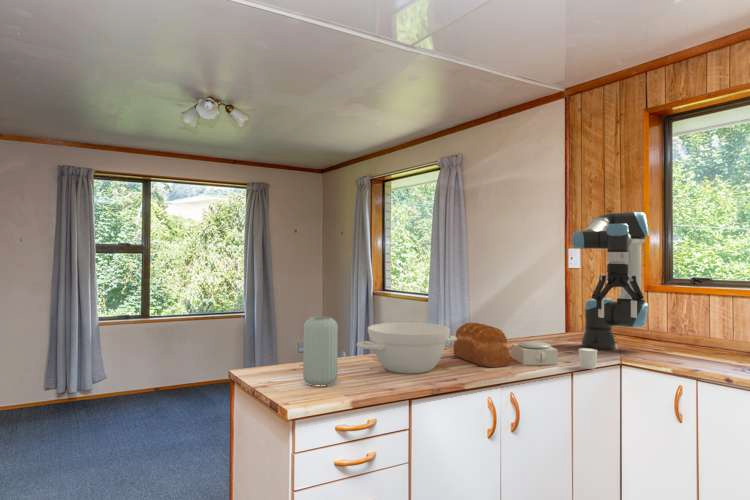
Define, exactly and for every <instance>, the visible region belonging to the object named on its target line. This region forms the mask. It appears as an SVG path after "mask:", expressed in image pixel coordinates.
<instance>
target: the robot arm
mask: <svg viewBox="0 0 750 500" xmlns="http://www.w3.org/2000/svg"><path fill="white" fill-rule="evenodd" d="M649 235H650V234H649V226H648V219H647V215H646V214H645V213H644V212H641V211H640V212H639V211H638V212H637V211H632V212H631V211H629V212H628V211H627V212H609V213H604V214H602V215H599V216H596V217H594V218H593V219H592V220H590V221H589V223H588V226H587V227H585V229H584V230H576V231H574V232H573V233H572V240H571V241H572V247H573V248H574V249H580V250H587V249H589V250H590V249H592V250H593V249H594V250H595V249H597V250H599V249H602V250H604V249H605V250H606V249H607V251H606V262H607V264H606V273H607V275H601V274H600V275H599V277H598V281H597V284H596V286H595V289H594V291H593V293H592V295H591V299H588V300H586V302H585V309H584V312H585V314H584V315H585V318H584V319H585V322H584V323H585V328H584V329H585V330H584V333H583V336H582V338H581V346H582V348H591V349H596V350H615V349H616V348H617V343H616V340H615V337H614V334H613V329H612V327H622V328H632V329H635V328H637V329H639V328H641V329H642V328H644V327H645V326H646V323H647V319H648V318H647V317H648V312H649V304H648V303H647V302H646V301H645V297H644V294H643V292H642V244H643V243H644V242H645V241H646V238H648V237H649ZM606 281H607V283H606ZM603 287H604V288H603ZM618 287H619V288H620V293H619V295H618V296H617V297H616V301H613V299H612V298H611V297H609V298H608V297H606V296H607V295H608V293H609V292H610V290H612V289H613V288H618ZM605 297H606V298H605Z"/></svg>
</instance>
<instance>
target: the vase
mask: <svg viewBox="0 0 750 500" xmlns="http://www.w3.org/2000/svg"><path fill="white" fill-rule="evenodd" d="M338 327H339V326H338V323H337V321H336V320H335V319H333V318H332V317H330V316H312V317H309V318H308V319H307V320H306V321H304V324H303V341H302V343H303V347H302V348H303V350H302V351H303V353H302V354H303V356H302V357H303V359H302V360H303V364H302V366H303V368H302V369H303V370H302V375H303V376H302V377H303V380H304V381H305V382H306V383H307V385H309V384H311V385H320V386H321V385H329V384H331V383H332V384H334V382H336V380H337V378H338V354H339V353H338V348H339V347H338V345H339V344H338V342H339V341H338V339H339V338H338V336H339V334H338V333H339V331H338ZM332 384H331V385H332ZM311 385H310V386H311ZM329 386H330V385H329Z"/></svg>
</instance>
